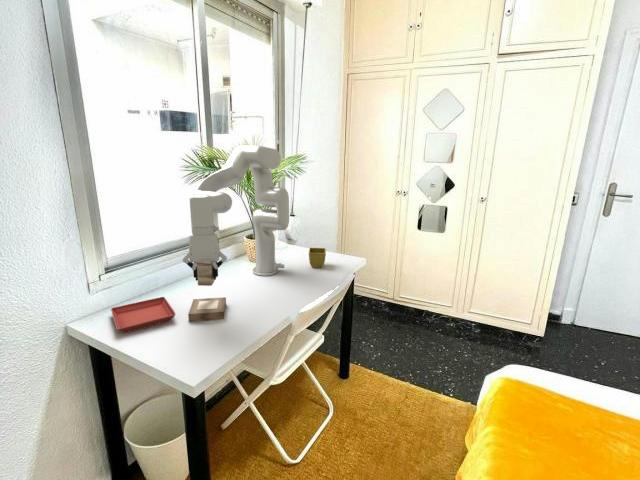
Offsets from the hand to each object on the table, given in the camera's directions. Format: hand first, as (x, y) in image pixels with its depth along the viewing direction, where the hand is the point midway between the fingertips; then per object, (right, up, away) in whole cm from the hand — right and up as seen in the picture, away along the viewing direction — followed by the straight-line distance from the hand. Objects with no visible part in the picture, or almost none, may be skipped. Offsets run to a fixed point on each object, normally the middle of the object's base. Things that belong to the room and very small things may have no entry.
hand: (206, 278), depth 122 cm
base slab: (0, -13, +4) cm, 14 cm away
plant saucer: (-22, -15, -2) cm, 26 cm away
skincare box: (0, -2, +1) cm, 2 cm away
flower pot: (+40, 0, +55) cm, 68 cm away
